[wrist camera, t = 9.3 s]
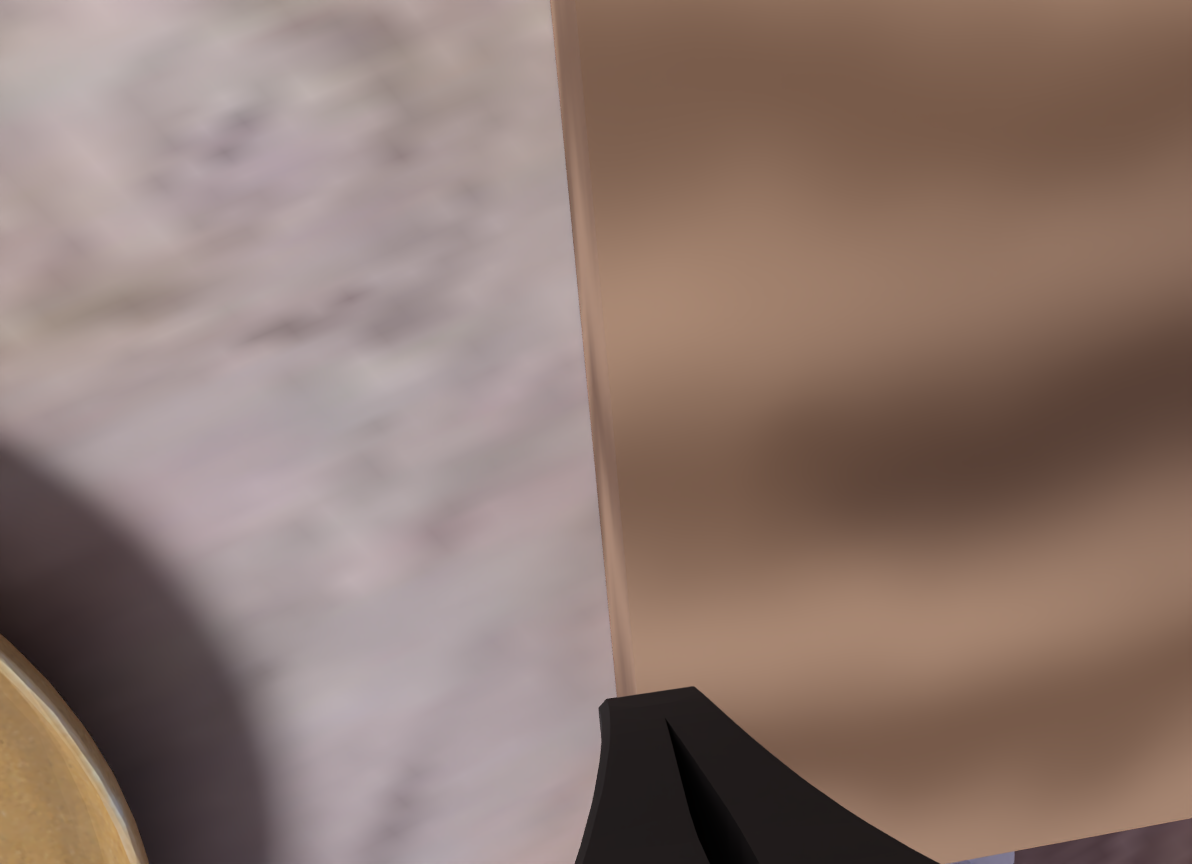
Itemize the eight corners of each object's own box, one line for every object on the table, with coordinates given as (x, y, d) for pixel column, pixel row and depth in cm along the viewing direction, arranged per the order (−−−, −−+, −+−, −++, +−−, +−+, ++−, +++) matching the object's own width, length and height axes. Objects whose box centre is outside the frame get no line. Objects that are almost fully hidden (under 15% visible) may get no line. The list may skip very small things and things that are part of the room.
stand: (1104, 718, 24) (1223, 812, 20) (627, 799, 22) (656, 917, 18) (1158, -52, 19) (1331, -124, 15) (548, -13, 17) (567, -82, 14)
